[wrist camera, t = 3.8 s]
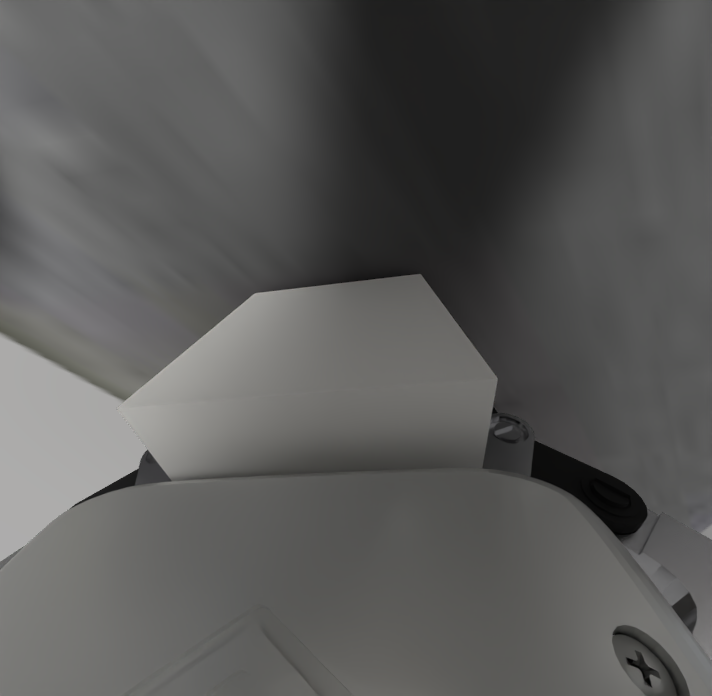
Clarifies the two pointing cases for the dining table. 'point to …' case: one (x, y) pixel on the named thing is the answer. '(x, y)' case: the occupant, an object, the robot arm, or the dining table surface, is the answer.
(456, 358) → the white cube
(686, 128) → the dining table surface
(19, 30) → the dining table surface
